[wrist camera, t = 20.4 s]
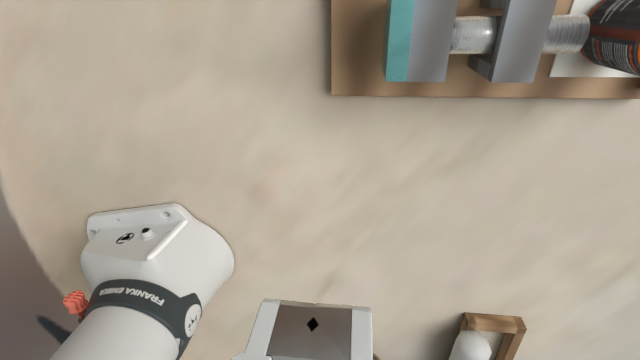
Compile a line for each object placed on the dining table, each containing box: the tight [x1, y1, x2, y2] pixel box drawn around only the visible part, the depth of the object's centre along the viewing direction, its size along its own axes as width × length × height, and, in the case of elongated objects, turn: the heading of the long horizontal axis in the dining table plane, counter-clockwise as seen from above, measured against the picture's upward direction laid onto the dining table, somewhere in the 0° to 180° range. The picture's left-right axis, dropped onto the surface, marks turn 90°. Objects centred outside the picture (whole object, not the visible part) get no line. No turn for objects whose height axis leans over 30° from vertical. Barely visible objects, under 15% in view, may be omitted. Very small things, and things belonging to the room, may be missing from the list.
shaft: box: [382, 0, 590, 82], centre depth 26 cm, size 15×6×6 cm, turn 91°
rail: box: [331, 0, 640, 99], centre depth 27 cm, size 30×12×8 cm, turn 91°
